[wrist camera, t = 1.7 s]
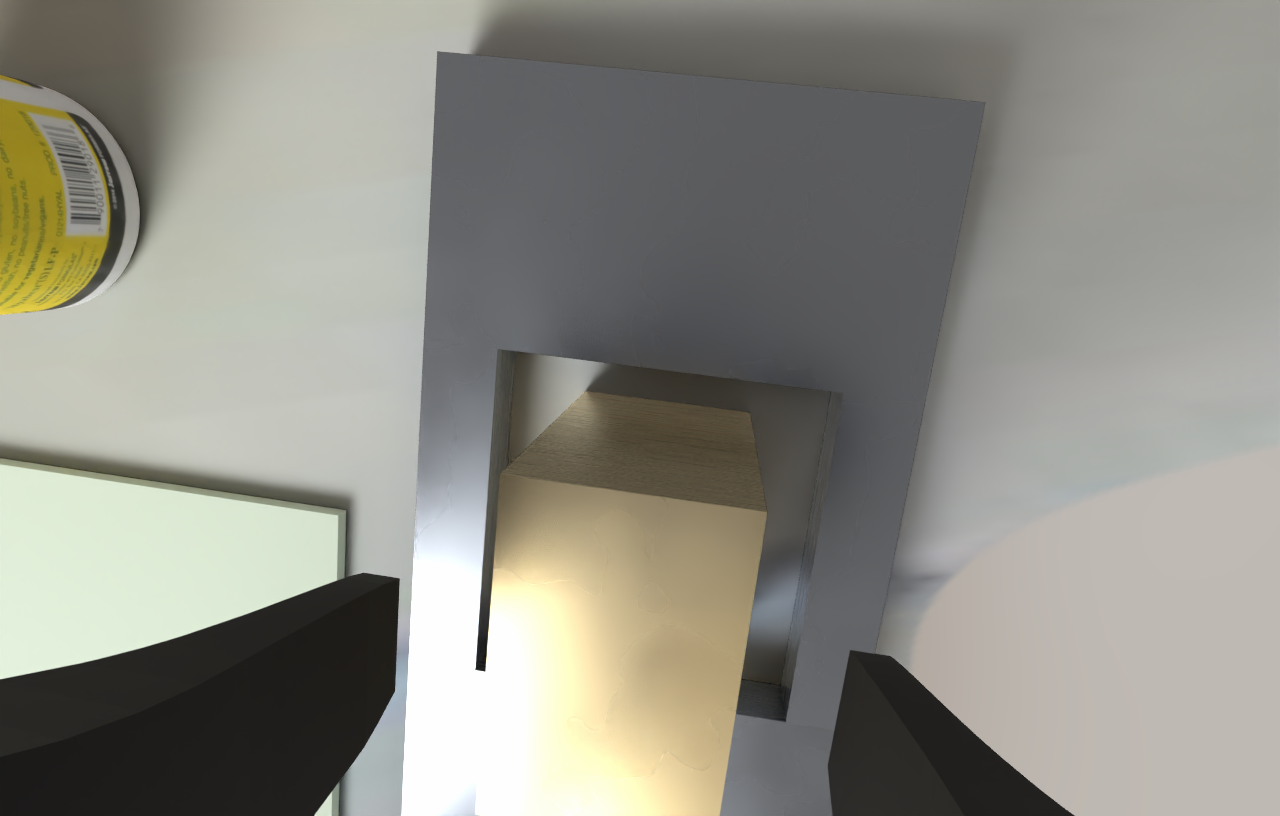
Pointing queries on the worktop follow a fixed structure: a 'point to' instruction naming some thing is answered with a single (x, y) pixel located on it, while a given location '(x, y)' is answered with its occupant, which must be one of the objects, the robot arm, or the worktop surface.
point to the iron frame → (678, 344)
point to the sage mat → (144, 563)
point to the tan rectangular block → (620, 611)
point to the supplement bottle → (60, 201)
